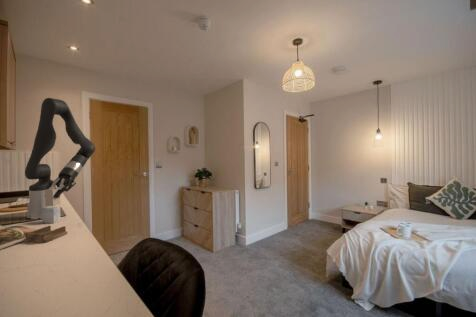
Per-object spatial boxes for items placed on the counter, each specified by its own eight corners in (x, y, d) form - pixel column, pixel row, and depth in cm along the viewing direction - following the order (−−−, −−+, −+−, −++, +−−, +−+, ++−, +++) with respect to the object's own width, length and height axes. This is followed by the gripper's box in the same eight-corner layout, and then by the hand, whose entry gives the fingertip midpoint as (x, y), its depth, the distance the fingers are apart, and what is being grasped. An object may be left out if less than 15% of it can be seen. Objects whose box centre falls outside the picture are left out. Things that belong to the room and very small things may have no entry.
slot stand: (23, 241, 98) (23, 233, 97) (47, 233, 108) (47, 225, 108) (45, 242, 97) (45, 234, 97) (67, 233, 108) (67, 226, 107)
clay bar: (45, 205, 106) (45, 189, 106) (52, 204, 110) (52, 188, 110) (53, 206, 106) (52, 189, 106) (60, 204, 110) (60, 188, 110)
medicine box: (60, 221, 128) (60, 206, 128) (53, 223, 123) (53, 208, 123) (48, 220, 129) (48, 206, 128) (41, 222, 124) (41, 207, 124)
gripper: (54, 166, 117) (31, 192, 105) (79, 166, 116) (59, 193, 104) (63, 175, 122) (42, 201, 110) (87, 175, 121) (69, 201, 109)
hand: (51, 197), depth 107 cm, fingers closed on clay bar, 4 cm apart
